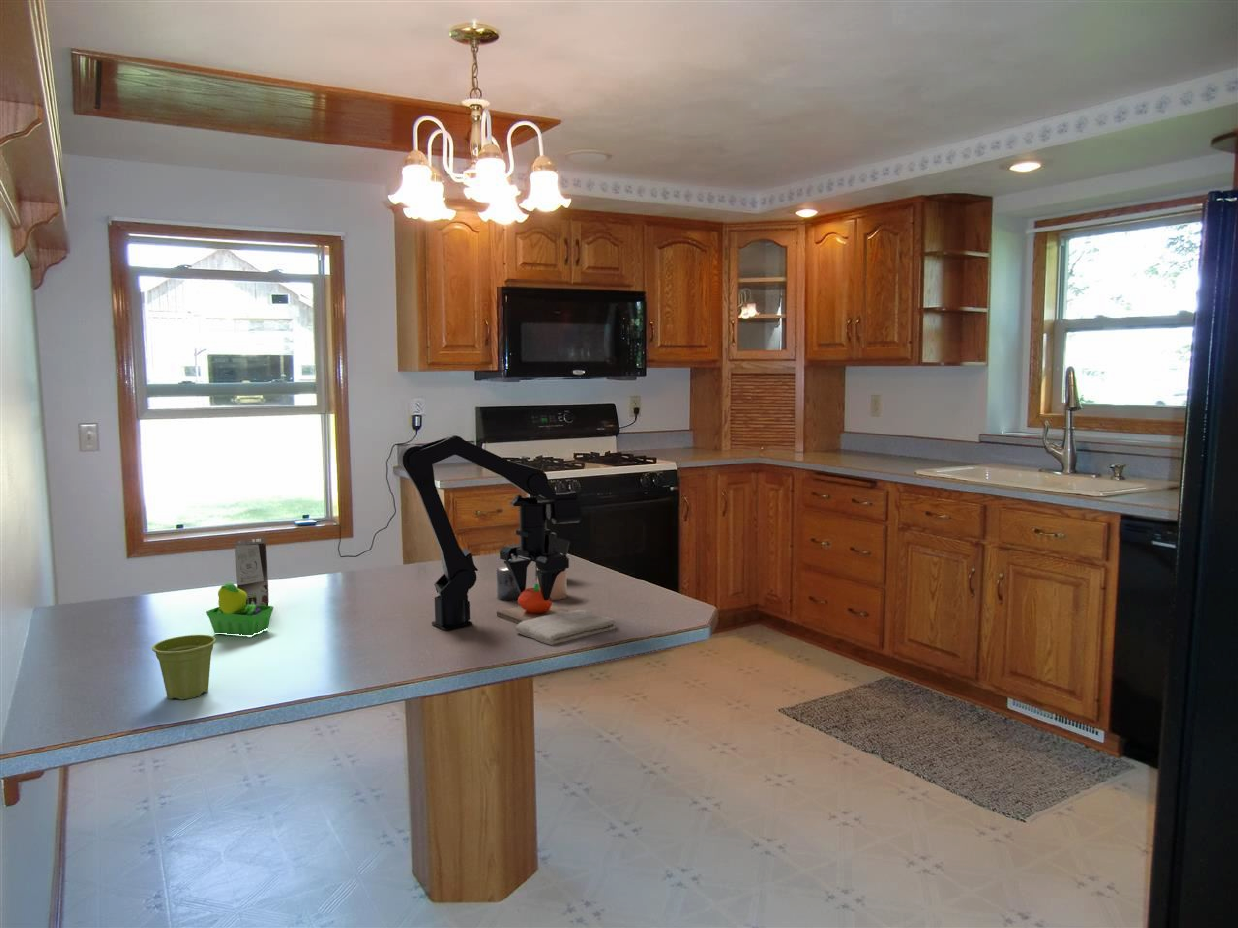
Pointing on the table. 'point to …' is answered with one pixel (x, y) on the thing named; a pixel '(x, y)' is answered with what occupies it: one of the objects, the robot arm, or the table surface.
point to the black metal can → (506, 585)
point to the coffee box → (252, 570)
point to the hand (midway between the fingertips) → (534, 596)
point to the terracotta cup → (558, 587)
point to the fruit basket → (238, 613)
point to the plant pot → (185, 664)
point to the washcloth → (564, 626)
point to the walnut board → (525, 614)
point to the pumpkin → (534, 600)
